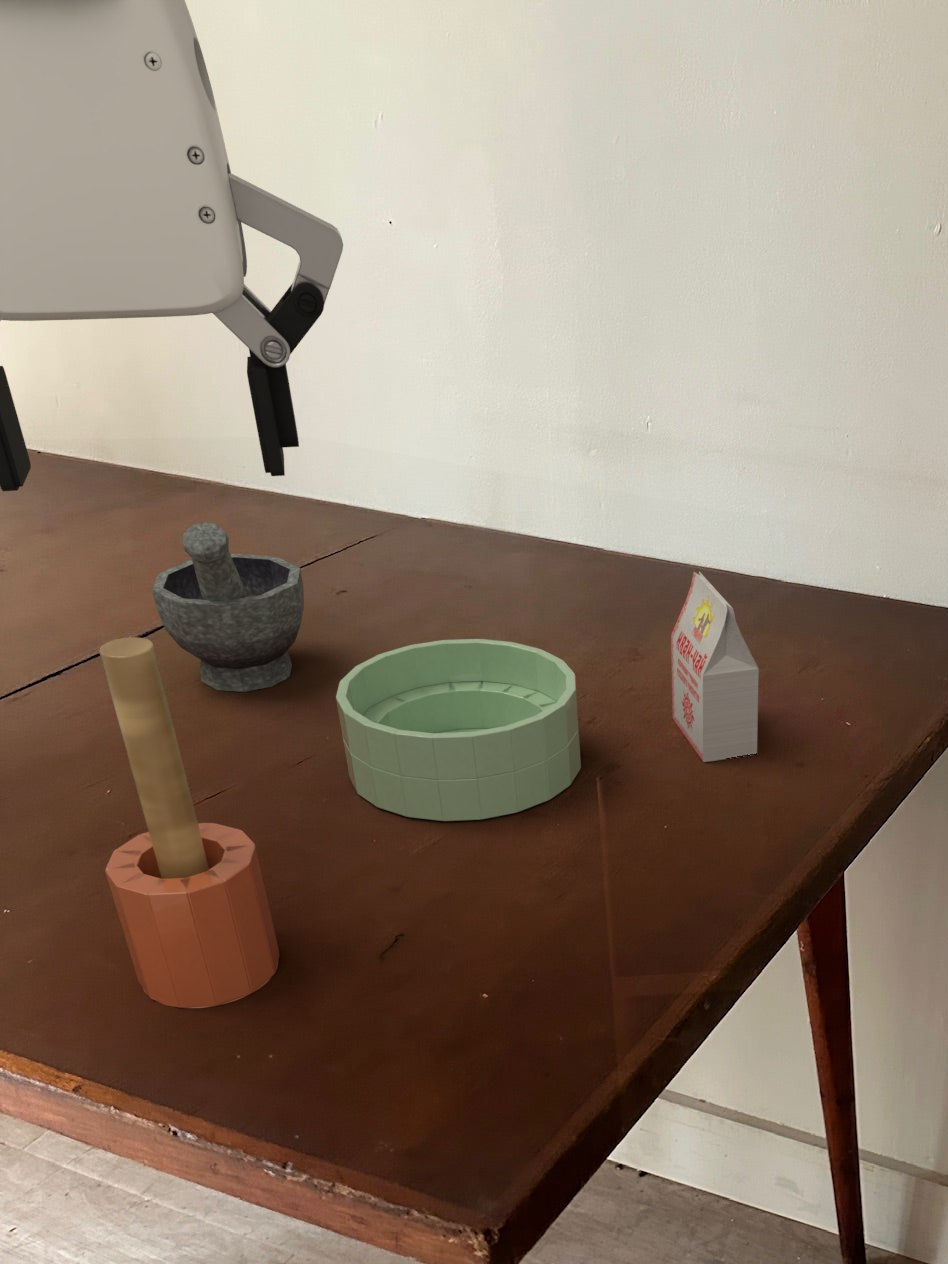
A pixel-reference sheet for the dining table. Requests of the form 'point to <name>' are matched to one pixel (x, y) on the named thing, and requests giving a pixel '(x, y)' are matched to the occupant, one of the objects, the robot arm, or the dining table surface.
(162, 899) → the utensil pot
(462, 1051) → the dining table surface
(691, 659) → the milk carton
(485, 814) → the bowl
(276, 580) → the mortar and pestle
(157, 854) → the stick
